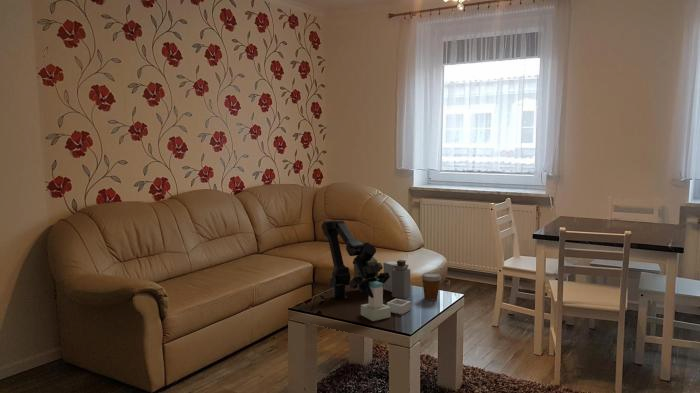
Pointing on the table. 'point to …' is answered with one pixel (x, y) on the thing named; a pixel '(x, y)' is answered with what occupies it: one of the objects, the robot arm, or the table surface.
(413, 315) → the table surface
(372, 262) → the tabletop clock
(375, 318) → the socket block
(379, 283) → the plug
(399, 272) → the perfume bottle
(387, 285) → the skincare box
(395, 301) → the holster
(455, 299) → the table surface
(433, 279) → the disposable coffee cup
